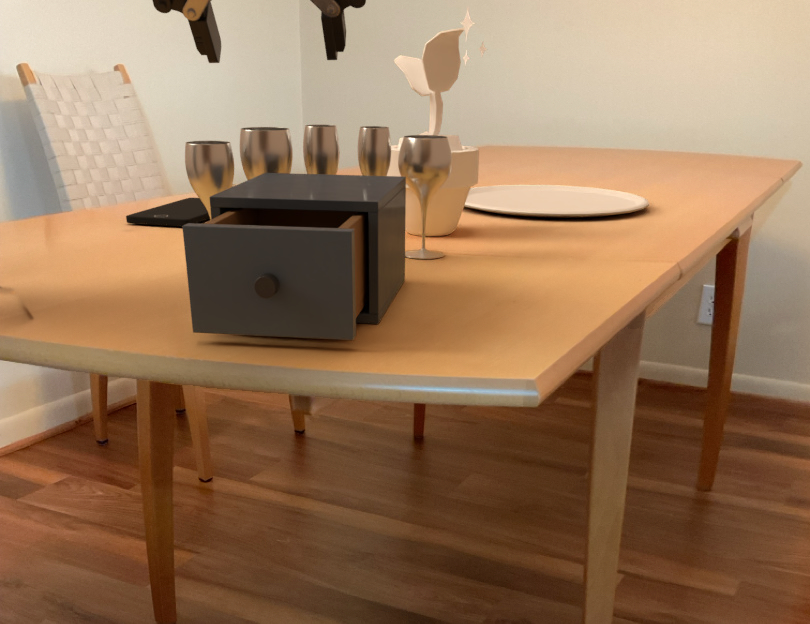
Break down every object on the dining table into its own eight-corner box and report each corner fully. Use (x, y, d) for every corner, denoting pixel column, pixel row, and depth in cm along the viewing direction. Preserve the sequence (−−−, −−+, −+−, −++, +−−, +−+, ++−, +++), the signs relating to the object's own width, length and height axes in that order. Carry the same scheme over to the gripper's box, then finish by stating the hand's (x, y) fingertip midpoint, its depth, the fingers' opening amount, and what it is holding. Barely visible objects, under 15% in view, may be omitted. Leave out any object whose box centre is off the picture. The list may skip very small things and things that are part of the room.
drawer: (350, 344, 67) (348, 234, 63) (187, 337, 68) (176, 228, 65) (384, 292, 82) (384, 200, 78) (249, 287, 83) (243, 196, 79)
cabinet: (378, 324, 76) (378, 201, 71) (219, 317, 77) (209, 196, 73) (404, 280, 90) (405, 176, 86) (270, 275, 92) (264, 172, 87)
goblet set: (200, 275, 91) (186, 130, 85) (190, 264, 96) (177, 125, 90) (457, 258, 100) (462, 125, 94) (437, 248, 105) (440, 121, 99)
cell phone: (125, 223, 117) (124, 215, 116) (190, 204, 132) (189, 197, 132) (188, 227, 115) (187, 219, 114) (247, 207, 130) (246, 200, 130)
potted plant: (494, 236, 112) (506, 0, 100) (410, 243, 107) (413, -4, 96) (442, 221, 122) (448, 4, 110) (363, 227, 117) (361, 1, 105)
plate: (688, 208, 135) (689, 199, 134) (562, 229, 117) (563, 219, 117) (536, 187, 154) (537, 179, 153) (409, 203, 136) (409, 194, 136)
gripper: (352, -242, 52) (373, 12, 67) (105, -233, 52) (181, 17, 68) (347, -152, 49) (370, 91, 64) (86, -143, 50) (171, 95, 65)
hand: (273, 53), depth 66 cm, fingers open, 8 cm apart
